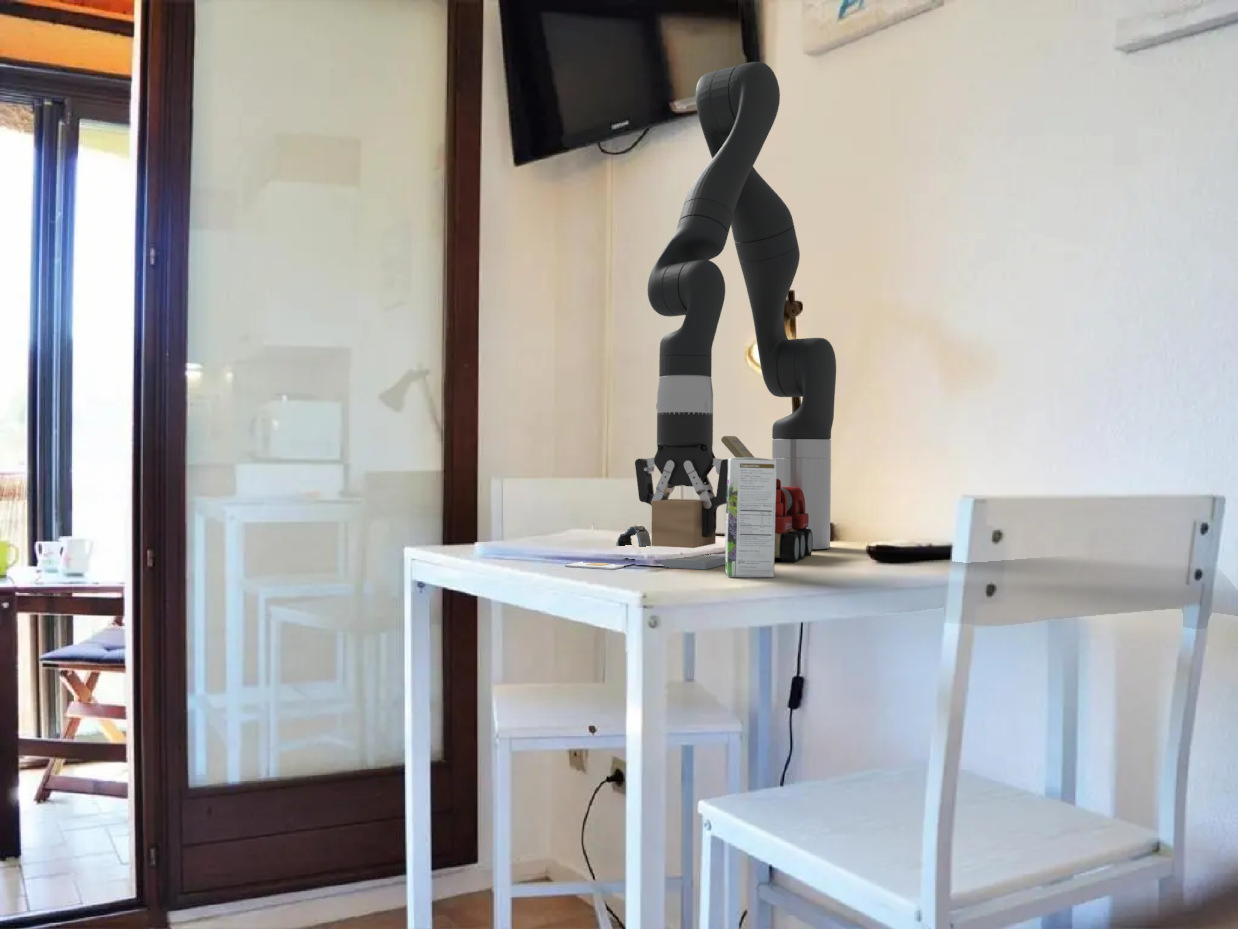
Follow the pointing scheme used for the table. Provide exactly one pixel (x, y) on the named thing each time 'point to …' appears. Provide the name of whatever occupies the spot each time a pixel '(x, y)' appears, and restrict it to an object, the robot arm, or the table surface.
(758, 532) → the syrup box
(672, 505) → the brick
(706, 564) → the plate
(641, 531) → the wristwatch
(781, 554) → the toy fire truck
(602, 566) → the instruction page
